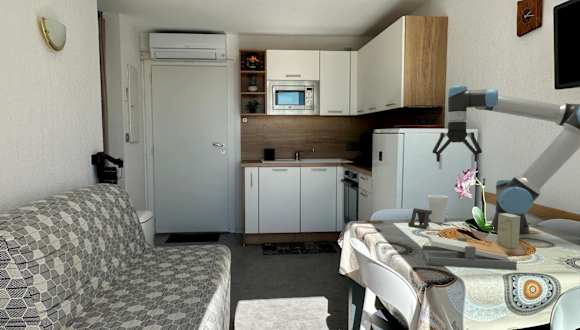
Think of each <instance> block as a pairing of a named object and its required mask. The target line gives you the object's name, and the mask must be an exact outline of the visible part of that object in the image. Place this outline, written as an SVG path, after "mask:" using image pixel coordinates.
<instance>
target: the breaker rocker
mask: <svg viewBox="0 0 580 330" xmlns="http://www.w3.org/2000/svg"><path fill="white" fill-rule="evenodd" d="M427 240H428V241H429V243H430V246H436V247H441V248H446V249H451V250H456V251H460V252H465V246H475V247H476V251H475V255H480V256H485V257H490V258H495V259H500V260H505V261H507V259H509V255H507V254H506V253H505V252H504V251H502V250H501V249H500V248H495V247H490V245H486V244H485V245H484V244H478V243H473V242H469V241H467V242H463V241H458V240H457V239H452V238H449V237H448V238H447V237H442V236H438V235H432V234H428V237H427Z"/></svg>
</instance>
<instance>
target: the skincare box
mask: <svg viewBox="0 0 580 330" xmlns="http://www.w3.org/2000/svg"><path fill="white" fill-rule="evenodd" d="M519 231H520V216H517V215H513V214H509V213H501V214H499V215H498V231H497V234H496V235H497V237H496V238H497V239H496V242H497V245H500V246H503V247H506V248H509V249H513V248H519V245H520V234H519Z"/></svg>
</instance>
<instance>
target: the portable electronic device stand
mask: <svg viewBox="0 0 580 330" xmlns="http://www.w3.org/2000/svg"><path fill="white" fill-rule="evenodd" d="M431 214H432V211H431V210H430V209H425V208H418V207H417V208H415V207H414V208H413V209H412V214H411V219H410V221H408V222H407V223H408V225H407V226H408V227H411V228H417V229H421V230H427V228H428V227H429V226H430V224H429V219H430V215H431ZM416 217H417V219H418V224H415V221H416Z"/></svg>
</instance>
